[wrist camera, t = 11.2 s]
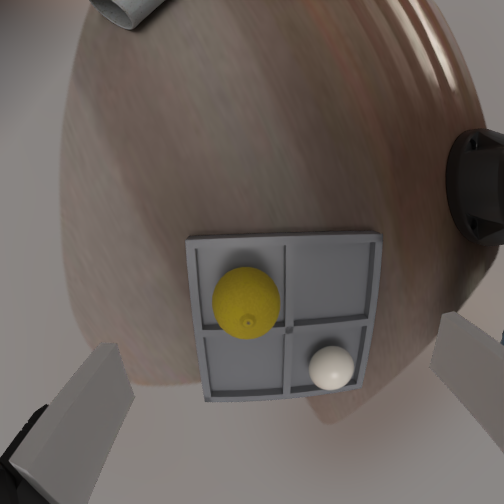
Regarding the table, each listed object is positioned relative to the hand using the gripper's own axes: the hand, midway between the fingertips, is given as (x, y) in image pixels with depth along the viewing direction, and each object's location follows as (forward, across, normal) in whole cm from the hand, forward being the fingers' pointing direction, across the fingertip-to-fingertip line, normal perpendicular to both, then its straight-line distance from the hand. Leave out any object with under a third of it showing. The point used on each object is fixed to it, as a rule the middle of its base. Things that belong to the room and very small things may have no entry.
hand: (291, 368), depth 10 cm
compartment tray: (+18, -2, +7) cm, 19 cm away
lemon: (+17, +2, +2) cm, 17 cm away
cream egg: (+17, -6, +12) cm, 22 cm away
